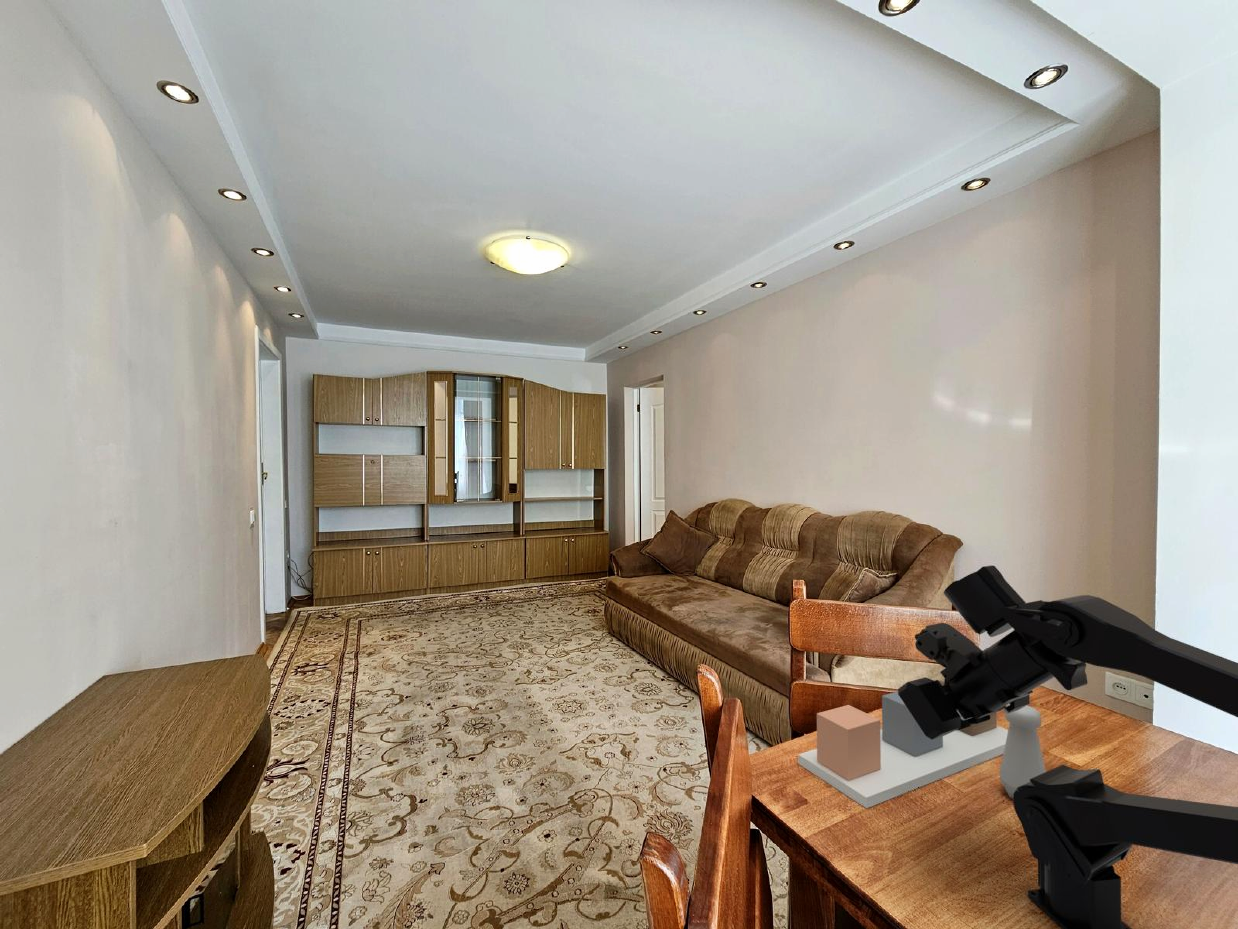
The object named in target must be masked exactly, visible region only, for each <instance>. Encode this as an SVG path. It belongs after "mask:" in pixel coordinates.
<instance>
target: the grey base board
mask: <svg viewBox="0 0 1238 929" xmlns="http://www.w3.org/2000/svg"><path fill="white" fill-rule="evenodd" d="M1007 734H1008V729H1006V728H1004V727H1002V726H999V725H997V727H996V728H994V729H991V730H988V731H985V732H982V733H980V734H977V735H974V736H971V735H969V734H966V733H964V732H962V731H959V730H957V731H953V732H951V733H949V734H947V735H944V736H943V747H941V748H938V749H935V750H932V751H929V752H927V753H924V754H921V755H918V756H913V755H911V754H909V753H907V752H905V751H903V750H901V749H899V748H897V747H895V746H893V745H891V744H889V743H887V742H885V741H883V740H882V728H880V741H881V769H879V770H876V771H874V772H871V773H868V774H865V775H862V776H860V777H857V778H854V779H851V780H846V779H845V778H843V777H842V776H840V775H838V774H837V773H835V772H834V771H832V770H830V769H829V768H827V767H826V766H824V765H822V764H821V763H819V762H818V761H817V748H813V749H812V750H808V751H806V752H801V753H799V754H798V756H797V758H798V759H797V760H798V764H799V765H800V766H801V767H803V768H804V769H806V770H807V771H809V772H811V773H812V774H813V775H815V776H816V777H818V778H819V779H821V780H823V781H824V782H825V783H827V784H828V785H830V786H832V787H833V788H834V789H837V790H838V791H839V792H841V793H842V794H844V795H845V796H846V797H848V798H850V799H851V800H853V801H854V802H856V803H857V804H859V805H861V806H862V807H863V808H865V809H868V808H871V807H873V806H876V805H879V804H882V803H883V802H886V801H888V800H891V799H894V798H897V797H899V796H902V795H904V794H907V793H909V792H911V791H913V790H916V789H918V787H919V788H922V787H924V786H926V785H929V784H931V783H934V782H936V781H939V780H942V779H944V778H946V777H949V776H952V775H955V774H956V773H957V774H958V773H959V772H961V771H964V770H966V769H969V768H971V767H974V766H976V765H980V764H982V763H984V762H987V761H989V760H991V759H994V758H997V757H999V756H1001V755H1002V756H1003V754H1004V749H1005V744H1006V739H1007ZM908 791H909V792H908Z"/></svg>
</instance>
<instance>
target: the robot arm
mask: <svg viewBox="0 0 1238 929" xmlns="http://www.w3.org/2000/svg"><path fill="white" fill-rule="evenodd" d="M943 595H944V596H945V597H946V598H947V599H948V601H949V602H950V603H951V605H952V606H953V607H954V609H956V612H958V614H960V615H961V617H962V618H963V619H964V621H965V622H966V623H967V624H968V625H969V627H970V628H971V629H972V631H973V632H974V633H976V634H978V635H979V636H980V635H983V633H986V634H987V635H988V636H989V637H990V638H994V637H996V636H1000V635H1002V634H1004V633H1006V632H1007V631H1009V630H1011V629H1012V631H1011V632H1009V633H1008V634H1006V635H1005V636H1004V637H1002V638H1001V639H999V640H998V641H996V642H994V643H993V644H991V646H989V647H986V648H985V649H984V650H983V649H981V648H980V647H979V646H977V645H976V643H975V642H974V641H973V640H971V639H970V638H968V637H967V636H966V635H965V634H963V633H961V632H960V631H959V630H957V628H955V627H954V626H953V625H950V624H948V623H946V622H938V623H934V624H929V625H926V626H925V628H923V629H921V630H920V632H919V633H915V635H914V639H915V643H914V646H915V649H916V650H917V651H918V652H920V653H921V654H922V655H923V656H925V657H926V658H927V659H928V660H931V661H935V662H936V663H937V664H938V665H940V666H941V667H943V668H944V669H942V670H941V671H940V674H941V676H942V677H943V679H945V681H944V685H943V686H942V685H941V683H940V682H939V681H938V680H939V679H936V680H934V679H931V678H928V677H927V676H925V677H921V678H918V679H914V680H909V681H907V682H905V683H904V684H902V686H900V687H899V688H897V691H898V695H899V696H900V698H901V699H902V701H903V702H904V704H905V705H906V707H907V708H908V710H909V711H910V713H911V714H912V716H913V717H914V719H915V720H916V722H917V724H918V725H919V727H920V728H921V730H922V731H923V733H924V734H925V736H927V737H928V738H930V739H932V740H933V739H936V738H939V737H941V736H944V735H947V734H949V733H951V732H953V731H957V730H961V729H964V728H967V727H970V726H971V725H970V724H979V723H982V722H984V721H987V720H990V714H993V713H996V714H997V713H999V712H1001V711H1003V710H1004V713H1005V712H1006V713H1007V714H1008V713H1011V712H1014V711H1017V710H1019V709H1021V708H1023V707H1025V706H1026V705H1027V706H1029V705H1030V703H1031V702H1030V695H1031V694H1033V693H1034V691H1033V690H1034V689H1036V688H1037V687H1039V686H1041V685H1043V684H1045V683H1046V682H1048V681H1051V680H1052V679H1053V678H1054V679H1056V681H1057V682H1058V683H1059V684H1060V685H1061V686H1062V687H1063V689H1064V690H1066V691H1072V690H1076V689H1077V688H1081V687H1084V686H1086V685H1088V684H1089V683H1088V682H1089V681H1088V677H1087V673H1086V668H1087V664H1088V665H1091V666H1095V667H1099V668H1100V667H1101V668H1106V669H1110V670H1111V669H1112V670H1115V671H1116V670H1117V671H1121V672H1128V673H1131V674H1132V675H1137V676H1140V677H1143V678H1146V679H1147V680H1151V681H1153V682H1155V683H1157V684H1160V685H1162V686H1165V687H1167V688H1169V689H1170V690H1171V689H1172V690H1174V691H1176V692H1179V693H1180V694H1183V695H1185V696H1187V697H1188V698H1189V697H1190V698H1192V699H1193V700H1195V701H1196V700H1197V701H1198V702H1202V703H1204V704H1206V705H1208V706H1210V707H1212V708H1215V709H1217V710H1219V711H1222V712H1224V713H1226V714H1229V715H1231V716H1233V717H1235V718H1238V662H1236V661H1234V660H1231V659H1228V658H1225V657H1223V656H1220V655H1218V654H1215V653H1211V652H1209V651H1208V650H1204V649H1202V648H1198V647H1196V646H1194V645H1191V644H1187V643H1185V642H1183V641H1180V640H1177V639H1174V638H1173V637H1169V636H1167V634H1164V633H1162V632H1160V631H1158V630H1156V629H1155V628H1153V627H1151V626H1150V625H1149V624H1148V623H1146V622H1145V621H1144V620H1142V619H1140V618H1139V616H1136V615H1135V614H1133V613H1130V612H1129V611H1127V610H1125V609H1123V608H1121V607H1120V606H1118V605H1115V604H1113V603H1111V602H1110V601H1107V600H1106V599H1104V598H1101V597H1098V596H1093V595H1091V594H1090V595H1088V594H1081V595H1076V596H1070V597H1066V598H1060V599H1056V600H1052V601H1049V600H1048V601H1045V600H1043V599H1041V600H1035V601H1034V600H1033V601H1029V602H1026V601H1025V600H1024V599H1023V598H1022V597H1021V596H1020V595H1019V594H1018V592H1017V591H1016V589H1014V588H1013V587H1012V586H1011V585H1010V583H1009V582H1008V581H1007V580H1006V579H1005V577H1004V576H1003V574H1002V572H1001V571H1000V570H999V569H998V568H997V567H996V566H995V565H985V566H982V567H980V568H979V569H978V570H977V571H974V572H971V573H970V574H968V575H965V576H963V577H962V578H960V579H958V580H954V581H953V582H951V583H950V584H949V585H948V586H947V587H946V588H945V589H944V590H943ZM1009 704H1010V705H1009ZM1007 705H1009V706H1007ZM1006 706H1007V707H1006ZM1030 781H1031V782H1029V783H1026V784H1024V785H1022V786H1020V787H1017V789H1016V791H1015V792H1014V795H1013V799H1012V804H1013V810H1014V811H1015V813H1016V814H1015V815H1016V816H1017V818H1018V820H1019V821H1020V823H1021V826H1022V829H1023V832H1024V835H1025V839H1026V841H1027V844H1028V846H1029V847H1028V848H1029V849H1030V853H1031V856H1032V857H1033V858H1034V859H1035V860H1037V885H1038V887H1039V888H1037V889H1028V890H1027V897H1028V898H1029V899H1030V900H1031V901H1032V902H1034V903H1035V904H1036V905H1037V906H1038V908H1040V909H1041V910H1042V911H1043V912H1044V913H1045V914H1047V916H1049V917H1050V919H1051V920H1053V921H1054V922H1055V923H1056V924H1058V925H1059V927H1061V928H1062V929H1132V928H1131V927H1130V926H1129V925H1128V924H1127V923H1125V922H1124V921H1123V920H1122V877H1121V876H1120V875H1118V874H1117V873H1116V872H1115V868H1114V866H1113V865H1115V864H1116V863H1118V862H1119V861H1124V860H1125V859H1126V857H1127V856H1128V855H1129V853H1130V851H1131V849H1132V847H1133V845H1134V846H1138V847H1143V848H1149V849H1155V850H1160V851H1164V852H1171V853H1176V854H1182V855H1186V856H1191V857H1197V858H1202V859H1207V860H1208V859H1209V860H1213V861H1219V862H1224V863H1229V864H1234V865H1238V806H1231V805H1224V804H1217V803H1216V804H1215V803H1208V802H1199V801H1198V802H1197V801H1191V800H1183V799H1174V798H1167V797H1159V796H1153V795H1152V796H1151V795H1142V794H1134V793H1127V792H1124V791H1123V792H1122V791H1120V790H1119V789H1116V788H1113V787H1111V785H1107V784H1106V783H1104V779H1103V774H1102V771H1101V769H1100V768H1099V769H1098V768H1096V769H1095V768H1091V769H1090V768H1089V769H1077V768H1073V767H1070V766H1067V765H1065V764H1061V765H1058V766H1056V767H1054V768H1051V769H1050V770H1046V772H1045V773H1042V774H1040V775H1038V776H1036V777H1034V778H1031V779H1030Z"/></svg>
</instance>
